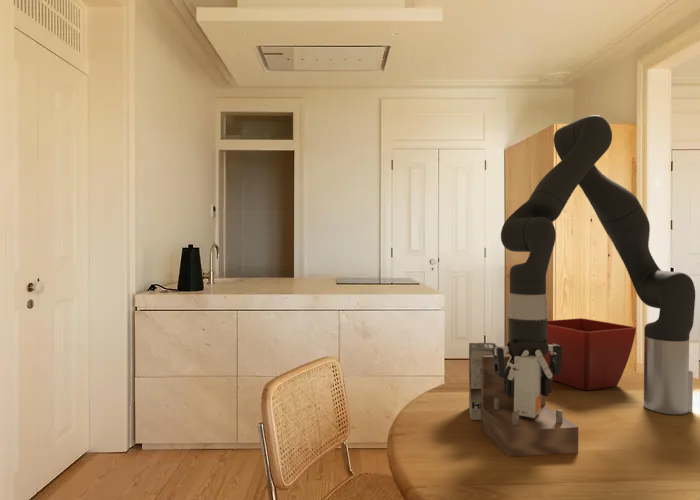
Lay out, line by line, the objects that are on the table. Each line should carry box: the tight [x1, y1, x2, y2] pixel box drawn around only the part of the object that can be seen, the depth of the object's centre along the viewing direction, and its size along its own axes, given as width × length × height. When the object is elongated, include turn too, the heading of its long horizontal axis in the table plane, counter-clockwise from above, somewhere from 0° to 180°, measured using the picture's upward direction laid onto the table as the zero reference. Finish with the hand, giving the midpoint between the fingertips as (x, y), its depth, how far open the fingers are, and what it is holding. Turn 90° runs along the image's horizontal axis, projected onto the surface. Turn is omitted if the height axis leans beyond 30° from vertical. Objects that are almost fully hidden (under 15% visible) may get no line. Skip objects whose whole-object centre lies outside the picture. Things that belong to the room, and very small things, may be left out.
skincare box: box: [514, 356, 541, 418], centre depth 104 cm, size 6×4×12 cm
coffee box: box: [468, 342, 497, 421], centre depth 119 cm, size 9×6×16 cm
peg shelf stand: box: [480, 354, 579, 458], centre depth 104 cm, size 14×14×16 cm
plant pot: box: [545, 317, 637, 391], centre depth 144 cm, size 19×19×17 cm
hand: (527, 396), depth 104 cm, fingers closed on skincare box, 7 cm apart
